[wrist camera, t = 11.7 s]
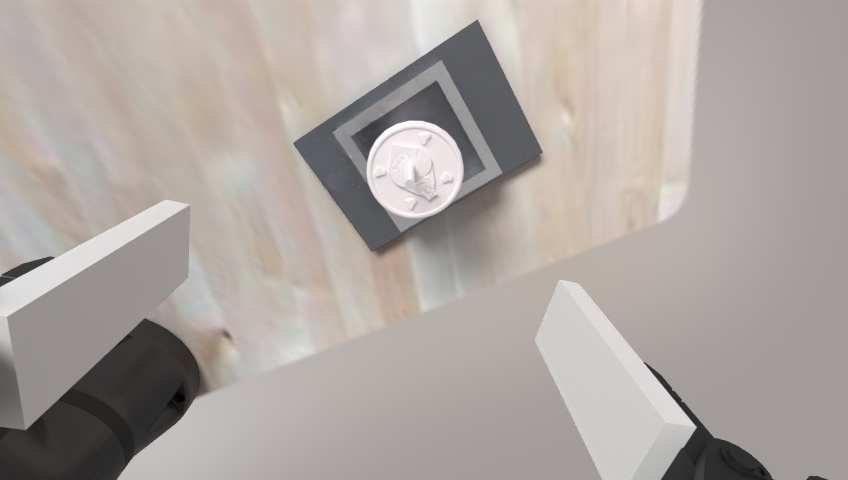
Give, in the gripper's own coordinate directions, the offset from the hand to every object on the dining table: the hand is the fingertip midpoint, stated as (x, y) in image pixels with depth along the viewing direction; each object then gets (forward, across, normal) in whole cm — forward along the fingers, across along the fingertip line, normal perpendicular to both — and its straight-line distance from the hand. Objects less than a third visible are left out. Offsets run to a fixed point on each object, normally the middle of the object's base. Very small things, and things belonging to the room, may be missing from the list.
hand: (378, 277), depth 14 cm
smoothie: (+23, -2, -1) cm, 23 cm away
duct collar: (+23, -2, -1) cm, 24 cm away
